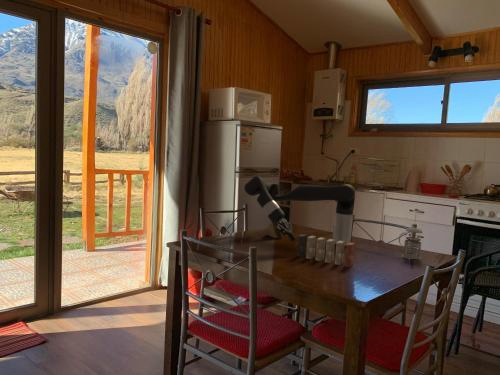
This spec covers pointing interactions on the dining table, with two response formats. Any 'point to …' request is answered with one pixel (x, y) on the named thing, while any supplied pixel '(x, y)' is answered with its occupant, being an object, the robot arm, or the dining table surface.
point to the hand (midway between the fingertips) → (294, 240)
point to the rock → (274, 231)
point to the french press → (414, 243)
